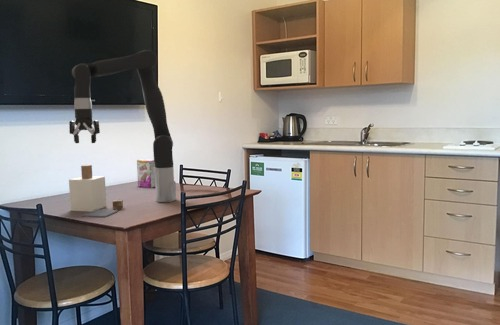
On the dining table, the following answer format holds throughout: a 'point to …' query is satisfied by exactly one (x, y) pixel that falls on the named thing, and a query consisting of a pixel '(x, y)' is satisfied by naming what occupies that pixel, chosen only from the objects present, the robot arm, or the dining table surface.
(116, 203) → the walnut block
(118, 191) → the dining table surface
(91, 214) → the mat
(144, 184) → the candy bar box
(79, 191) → the cover
